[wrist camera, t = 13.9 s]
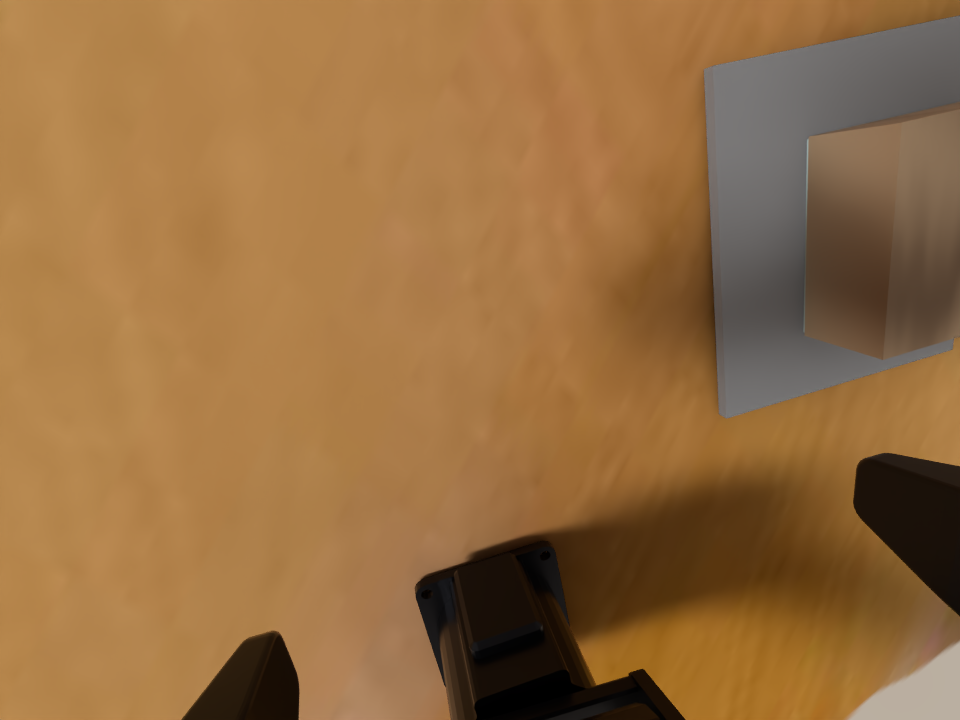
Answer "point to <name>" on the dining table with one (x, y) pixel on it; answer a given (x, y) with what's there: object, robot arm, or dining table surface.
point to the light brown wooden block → (884, 234)
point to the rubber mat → (798, 195)
